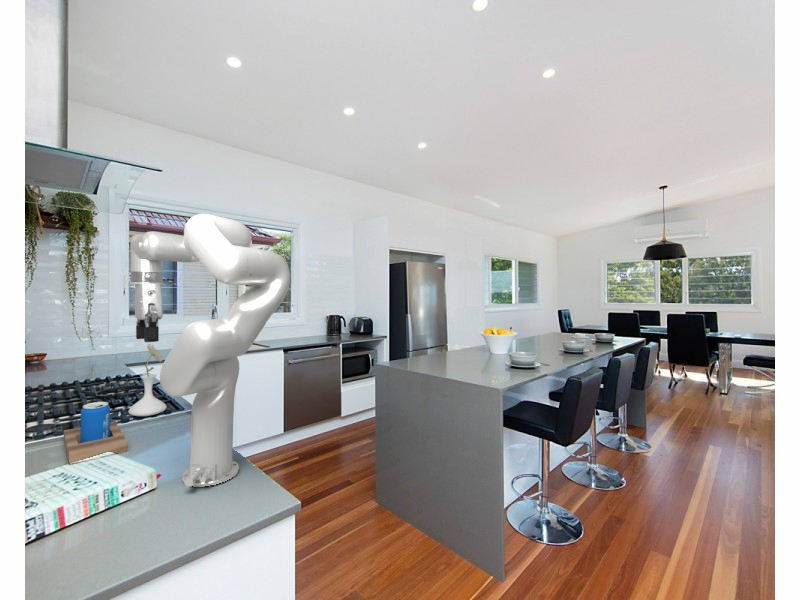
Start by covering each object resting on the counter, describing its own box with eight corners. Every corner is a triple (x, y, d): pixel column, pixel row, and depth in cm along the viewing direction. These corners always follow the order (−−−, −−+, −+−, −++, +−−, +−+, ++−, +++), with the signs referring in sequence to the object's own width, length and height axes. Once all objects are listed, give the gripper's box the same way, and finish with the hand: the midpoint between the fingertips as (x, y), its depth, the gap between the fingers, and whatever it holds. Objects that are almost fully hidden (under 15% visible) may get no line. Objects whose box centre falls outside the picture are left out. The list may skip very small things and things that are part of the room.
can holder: (126, 451, 103) (126, 441, 103) (69, 465, 94) (69, 453, 94) (114, 430, 117) (114, 421, 117) (63, 440, 108) (63, 430, 108)
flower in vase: (166, 416, 131) (167, 346, 130) (126, 421, 125) (128, 348, 124) (166, 405, 142) (168, 341, 141) (130, 409, 136) (131, 342, 135)
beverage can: (96, 451, 102) (97, 409, 102) (73, 450, 102) (74, 407, 102) (115, 442, 108) (115, 401, 108) (93, 440, 109) (94, 400, 108)
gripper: (171, 279, 100) (171, 341, 100) (154, 280, 112) (154, 336, 112) (137, 278, 94) (138, 344, 94) (124, 279, 106) (124, 338, 106)
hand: (147, 340), depth 103 cm, fingers open, 9 cm apart
